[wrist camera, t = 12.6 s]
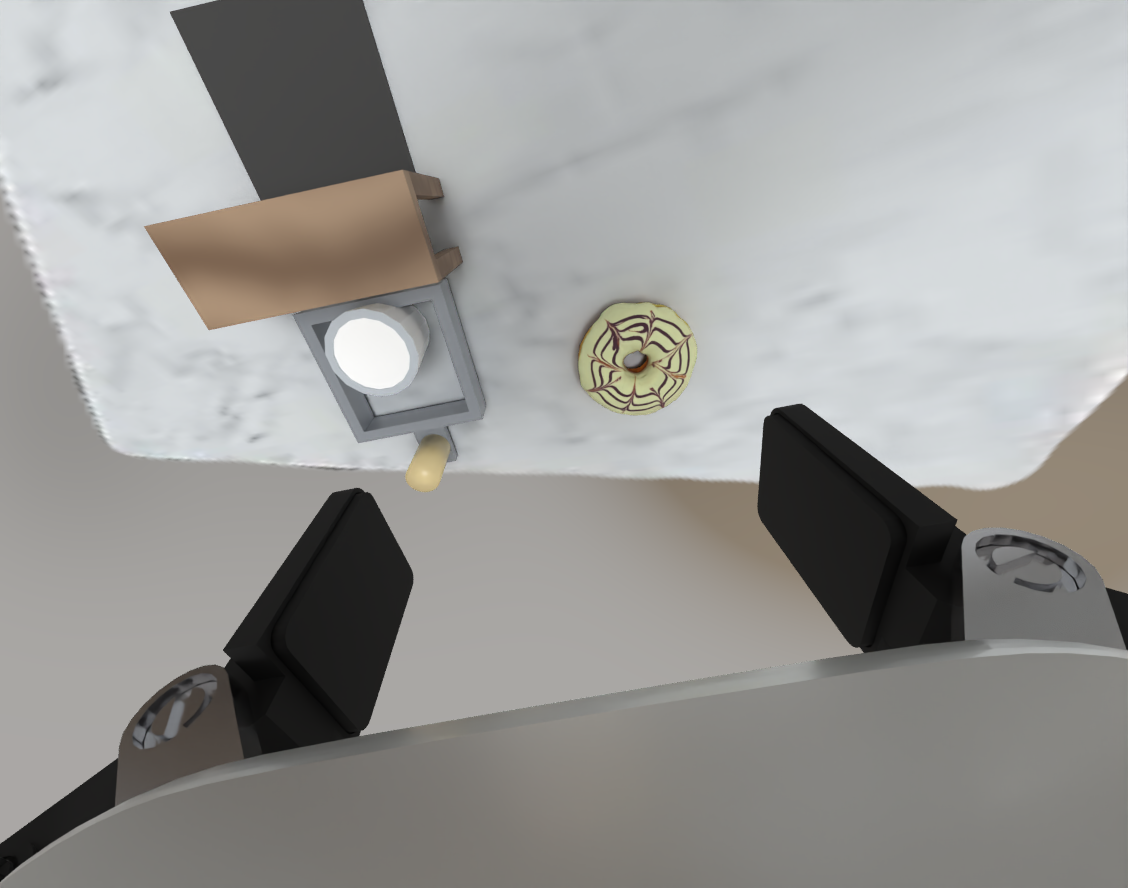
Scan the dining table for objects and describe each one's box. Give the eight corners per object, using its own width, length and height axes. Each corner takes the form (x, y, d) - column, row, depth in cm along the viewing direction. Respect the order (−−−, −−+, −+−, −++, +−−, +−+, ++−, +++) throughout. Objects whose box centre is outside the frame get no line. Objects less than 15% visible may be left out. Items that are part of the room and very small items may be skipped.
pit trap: (172, 13, 26) (169, 11, 26) (352, -31, 26) (351, -32, 26) (266, 208, 32) (264, 208, 32) (416, 175, 32) (415, 175, 31)
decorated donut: (591, 285, 37) (596, 293, 33) (703, 310, 38) (718, 320, 35) (566, 393, 42) (569, 409, 38) (666, 410, 43) (676, 427, 40)
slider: (279, 243, 33) (226, 251, 27) (426, 211, 32) (403, 213, 27) (388, 468, 44) (367, 507, 38) (499, 447, 43) (494, 483, 38)
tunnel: (250, 219, 32) (143, 226, 24) (438, 178, 32) (402, 169, 23) (289, 298, 35) (208, 330, 27) (462, 261, 35) (438, 282, 26)
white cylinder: (351, 350, 38) (316, 378, 32) (366, 277, 35) (331, 292, 29) (425, 377, 40) (406, 409, 34) (446, 310, 37) (429, 331, 31)
